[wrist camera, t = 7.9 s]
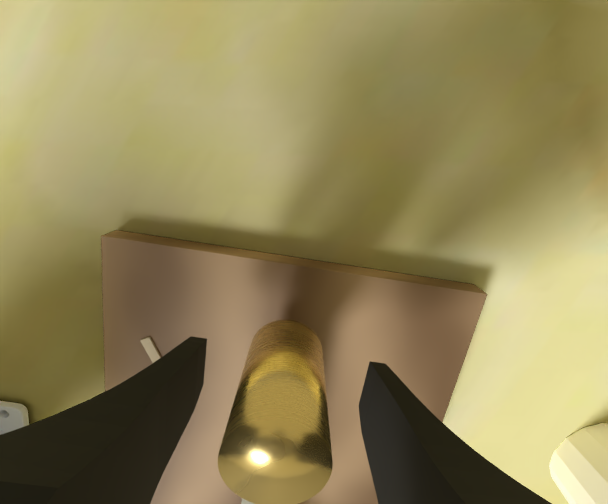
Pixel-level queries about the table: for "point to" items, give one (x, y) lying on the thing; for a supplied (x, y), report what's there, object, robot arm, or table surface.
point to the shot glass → (583, 466)
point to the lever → (279, 419)
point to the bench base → (260, 311)
